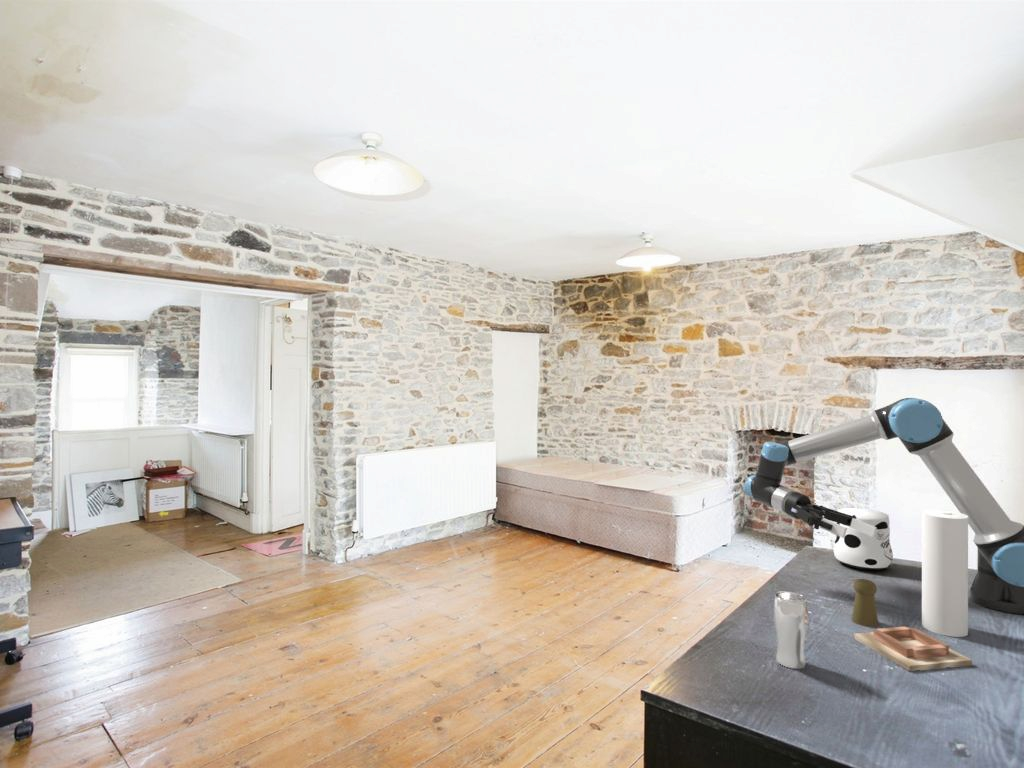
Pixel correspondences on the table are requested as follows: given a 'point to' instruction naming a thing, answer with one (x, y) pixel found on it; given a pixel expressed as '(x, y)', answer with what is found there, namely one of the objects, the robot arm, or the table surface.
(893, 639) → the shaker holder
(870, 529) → the robot arm
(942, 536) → the cylinder container
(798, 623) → the beer glass
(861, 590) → the cork
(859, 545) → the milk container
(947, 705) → the table surface
